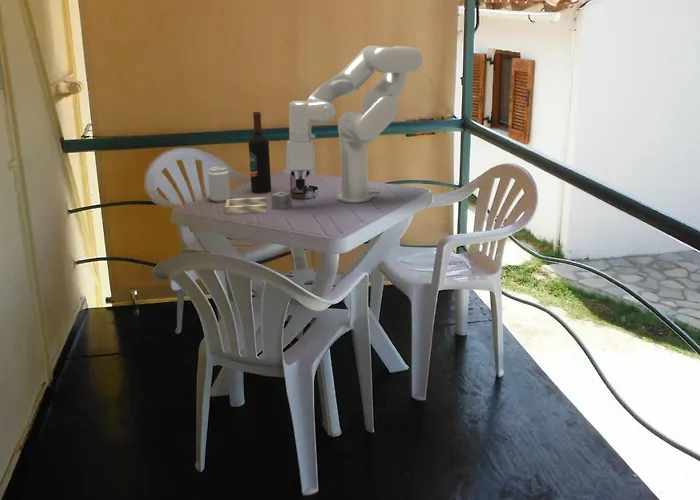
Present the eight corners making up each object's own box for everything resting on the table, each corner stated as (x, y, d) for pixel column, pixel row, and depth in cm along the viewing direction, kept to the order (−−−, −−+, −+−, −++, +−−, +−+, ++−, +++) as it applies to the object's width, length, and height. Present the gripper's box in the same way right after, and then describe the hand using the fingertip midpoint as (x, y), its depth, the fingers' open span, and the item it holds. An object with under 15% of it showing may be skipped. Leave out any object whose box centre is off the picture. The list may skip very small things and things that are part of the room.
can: (216, 203, 263) (214, 171, 259) (206, 199, 269) (203, 167, 265) (234, 199, 268) (232, 167, 264) (224, 195, 273) (221, 164, 269)
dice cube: (291, 206, 258) (291, 193, 257) (283, 210, 254) (282, 196, 253) (280, 204, 261) (279, 191, 259) (271, 208, 257) (271, 194, 255)
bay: (266, 204, 262) (266, 197, 261) (267, 212, 252) (266, 205, 251) (227, 205, 260) (226, 199, 259) (225, 214, 251) (225, 207, 250)
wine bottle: (268, 193, 275) (264, 114, 265) (249, 193, 276) (244, 113, 266) (273, 188, 282) (269, 110, 272) (254, 188, 283) (249, 110, 273)
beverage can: (303, 194, 274) (302, 155, 268) (288, 193, 275) (286, 154, 270) (307, 190, 279) (306, 151, 274) (292, 189, 280) (291, 151, 275)
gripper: (321, 135, 254) (320, 187, 260) (278, 135, 252) (278, 187, 258) (322, 139, 247) (322, 192, 253) (278, 139, 245) (279, 192, 251)
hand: (300, 189), depth 256 cm, fingers closed
